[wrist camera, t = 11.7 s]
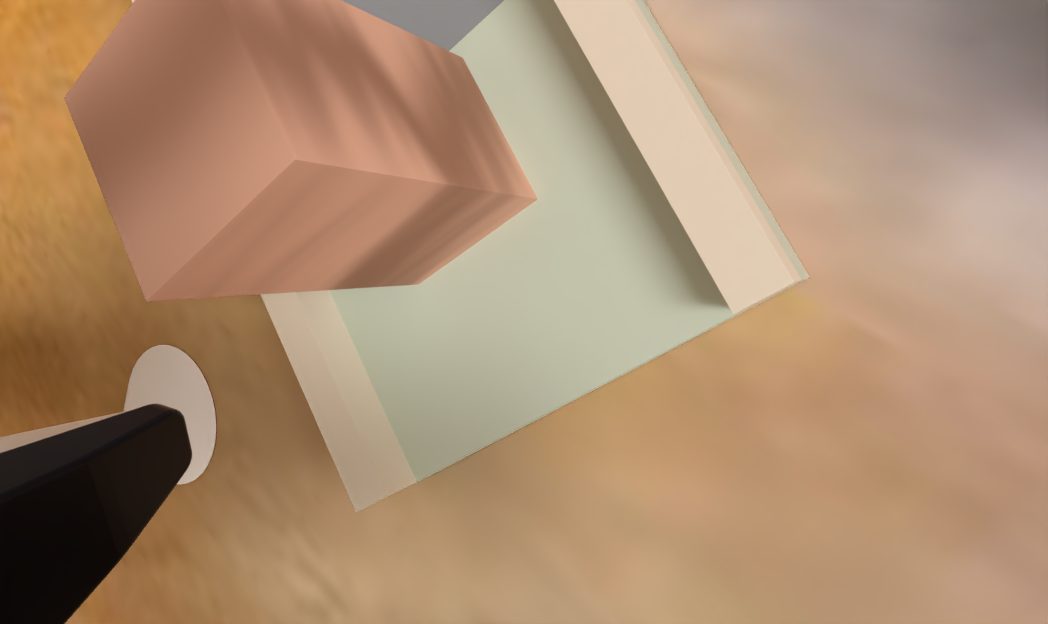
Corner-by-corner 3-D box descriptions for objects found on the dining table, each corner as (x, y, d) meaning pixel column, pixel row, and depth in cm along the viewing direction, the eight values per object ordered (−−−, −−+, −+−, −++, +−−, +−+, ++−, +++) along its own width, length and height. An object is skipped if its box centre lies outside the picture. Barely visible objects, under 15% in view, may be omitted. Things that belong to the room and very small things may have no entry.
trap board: (809, 277, 18) (794, 282, 15) (422, 480, 24) (355, 512, 21) (427, -361, 22) (352, -462, 19) (185, -36, 28) (100, -71, 25)
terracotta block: (537, 199, 19) (294, 159, 11) (418, 284, 21) (145, 301, 13) (462, 57, 20) (187, -72, 12) (355, 154, 22) (64, 98, 14)
